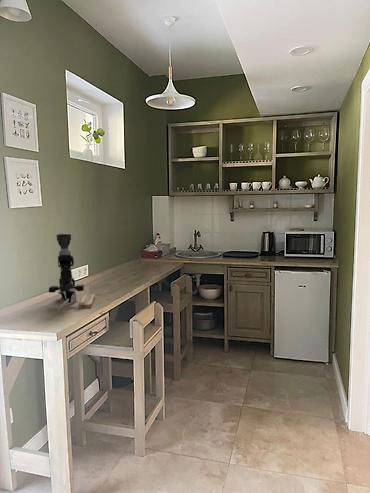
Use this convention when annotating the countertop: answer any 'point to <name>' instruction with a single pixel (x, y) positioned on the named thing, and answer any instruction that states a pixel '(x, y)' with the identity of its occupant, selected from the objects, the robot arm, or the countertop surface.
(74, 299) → the caliper
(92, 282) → the countertop surface
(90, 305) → the walnut board
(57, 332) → the countertop surface
